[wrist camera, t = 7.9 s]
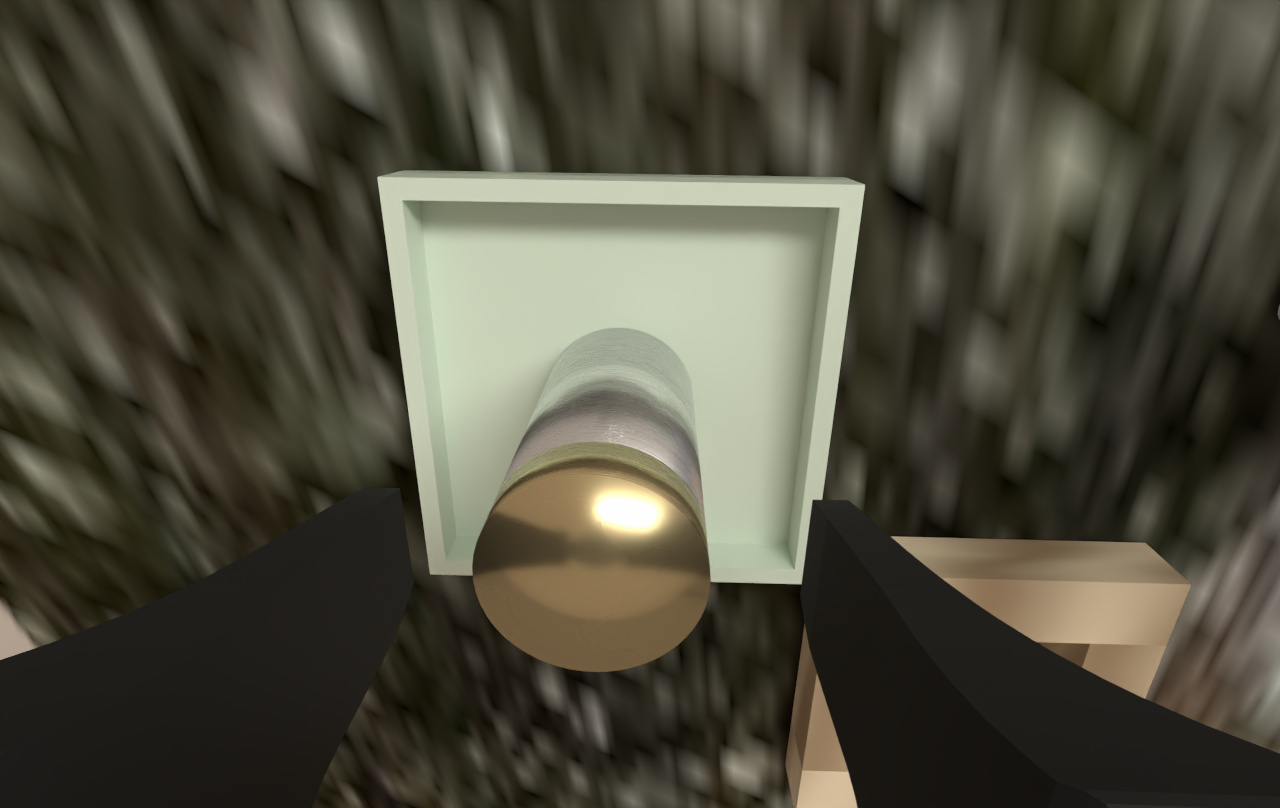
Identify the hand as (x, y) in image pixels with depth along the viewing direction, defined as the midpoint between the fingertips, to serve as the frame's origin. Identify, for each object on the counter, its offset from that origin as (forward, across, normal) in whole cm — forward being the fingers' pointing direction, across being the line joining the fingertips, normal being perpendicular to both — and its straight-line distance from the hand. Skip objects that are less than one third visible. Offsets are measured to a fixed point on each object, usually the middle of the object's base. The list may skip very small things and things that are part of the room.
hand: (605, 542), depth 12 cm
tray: (+8, 0, 0) cm, 8 cm away
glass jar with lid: (+7, 0, 0) cm, 7 cm away
